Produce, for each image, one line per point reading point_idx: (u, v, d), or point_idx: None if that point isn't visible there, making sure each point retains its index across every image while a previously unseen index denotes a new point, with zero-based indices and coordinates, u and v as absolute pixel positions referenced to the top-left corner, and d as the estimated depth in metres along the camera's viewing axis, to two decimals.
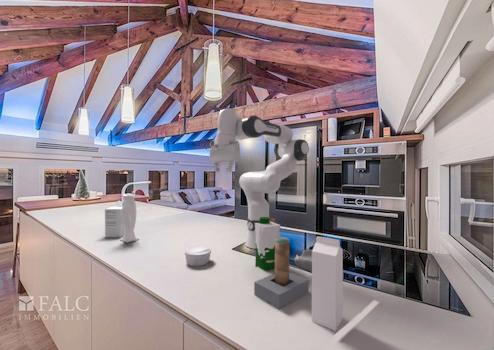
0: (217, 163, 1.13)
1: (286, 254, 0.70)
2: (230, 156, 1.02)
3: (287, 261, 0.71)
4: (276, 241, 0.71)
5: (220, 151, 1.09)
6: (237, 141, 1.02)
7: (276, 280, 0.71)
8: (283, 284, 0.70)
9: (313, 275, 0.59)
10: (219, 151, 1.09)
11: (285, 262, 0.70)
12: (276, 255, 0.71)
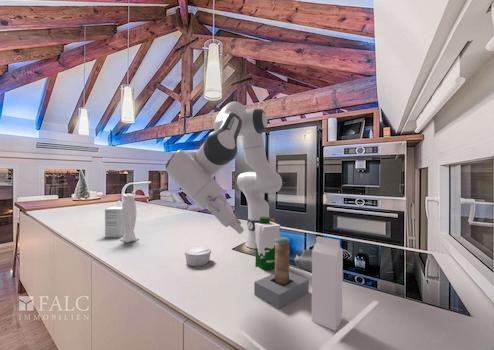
0: None
1: (286, 254, 0.70)
2: None
3: (287, 261, 0.71)
4: (276, 241, 0.71)
5: None
6: (208, 198, 0.62)
7: (276, 280, 0.71)
8: (283, 284, 0.70)
9: (313, 275, 0.59)
10: None
11: (285, 262, 0.70)
12: (276, 255, 0.71)
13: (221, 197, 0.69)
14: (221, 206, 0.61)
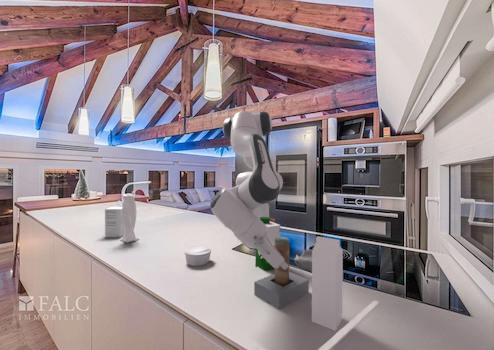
0: None
1: (286, 254, 0.70)
2: None
3: (287, 261, 0.71)
4: (276, 241, 0.71)
5: None
6: (258, 241, 0.63)
7: (276, 280, 0.71)
8: (283, 284, 0.70)
9: (313, 275, 0.59)
10: None
11: None
12: None
13: (266, 235, 0.70)
14: (271, 249, 0.62)
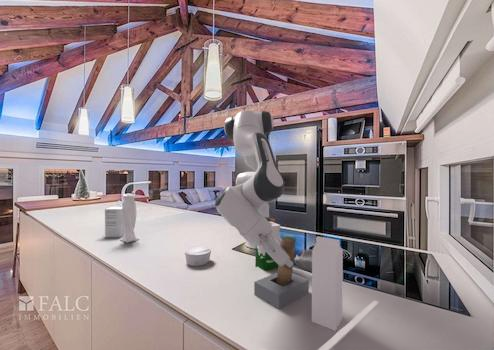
0: None
1: (292, 251, 0.71)
2: None
3: (292, 258, 0.71)
4: (284, 238, 0.71)
5: None
6: (263, 239, 0.63)
7: (280, 277, 0.71)
8: (287, 281, 0.70)
9: (313, 275, 0.59)
10: None
11: (291, 259, 0.71)
12: None
13: (270, 233, 0.70)
14: (276, 246, 0.62)
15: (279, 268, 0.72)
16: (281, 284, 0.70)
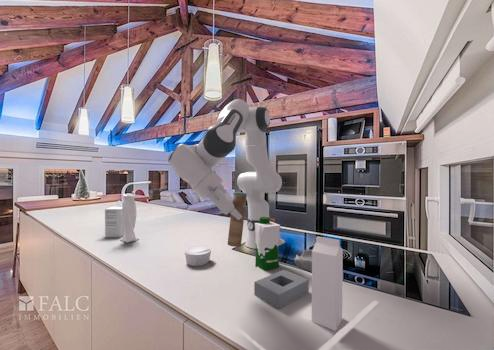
0: None
1: (242, 206, 0.74)
2: None
3: (243, 213, 0.75)
4: (234, 193, 0.75)
5: None
6: (209, 188, 0.66)
7: (230, 230, 0.74)
8: (237, 234, 0.74)
9: (313, 275, 0.59)
10: None
11: (241, 213, 0.74)
12: None
13: (221, 187, 0.73)
14: (221, 195, 0.66)
15: (230, 222, 0.75)
16: (231, 237, 0.74)
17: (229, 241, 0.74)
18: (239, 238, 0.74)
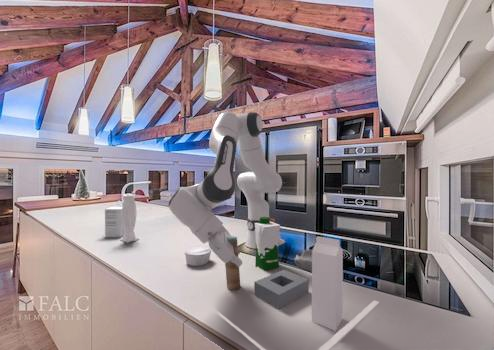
0: None
1: (234, 252, 0.74)
2: None
3: None
4: None
5: None
6: (209, 237, 0.66)
7: (227, 278, 0.75)
8: (234, 280, 0.74)
9: (313, 275, 0.59)
10: None
11: None
12: None
13: (221, 231, 0.74)
14: (221, 244, 0.66)
15: (226, 269, 0.75)
16: (229, 284, 0.75)
17: (228, 288, 0.75)
18: (237, 283, 0.75)
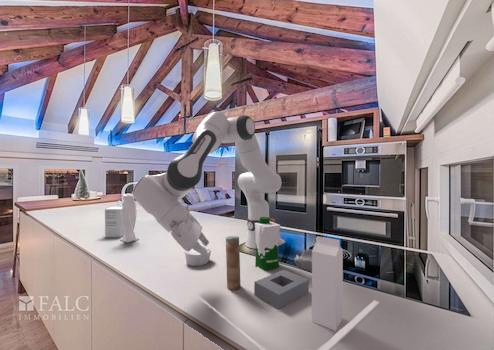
0: (199, 235, 0.80)
1: (236, 251, 0.75)
2: None
3: (237, 258, 0.75)
4: (227, 240, 0.76)
5: None
6: (170, 225, 0.65)
7: (228, 277, 0.75)
8: (234, 280, 0.75)
9: (313, 275, 0.59)
10: None
11: (236, 259, 0.75)
12: (227, 253, 0.76)
13: (186, 220, 0.72)
14: (182, 232, 0.65)
15: (227, 269, 0.76)
16: (230, 283, 0.75)
17: (228, 288, 0.75)
18: (237, 283, 0.75)
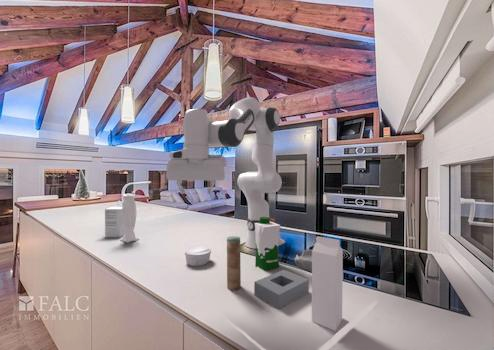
0: (181, 181, 0.82)
1: (237, 252, 0.75)
2: (216, 175, 0.82)
3: (238, 258, 0.75)
4: (228, 240, 0.75)
5: (191, 167, 0.81)
6: None
7: (228, 277, 0.75)
8: (235, 280, 0.74)
9: (313, 275, 0.59)
10: (190, 166, 0.81)
11: (236, 259, 0.75)
12: (227, 253, 0.75)
13: None
14: None
15: (227, 269, 0.76)
16: (230, 283, 0.75)
17: (228, 288, 0.75)
18: (238, 284, 0.75)
